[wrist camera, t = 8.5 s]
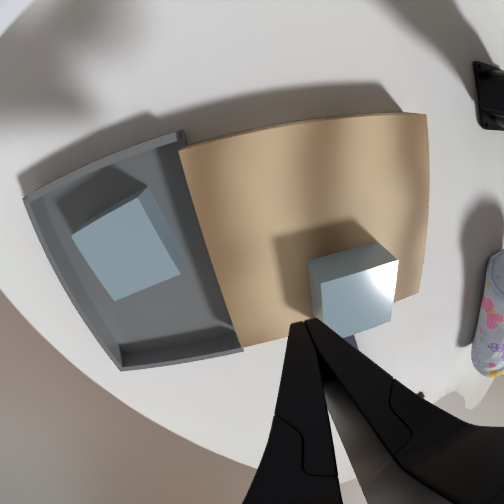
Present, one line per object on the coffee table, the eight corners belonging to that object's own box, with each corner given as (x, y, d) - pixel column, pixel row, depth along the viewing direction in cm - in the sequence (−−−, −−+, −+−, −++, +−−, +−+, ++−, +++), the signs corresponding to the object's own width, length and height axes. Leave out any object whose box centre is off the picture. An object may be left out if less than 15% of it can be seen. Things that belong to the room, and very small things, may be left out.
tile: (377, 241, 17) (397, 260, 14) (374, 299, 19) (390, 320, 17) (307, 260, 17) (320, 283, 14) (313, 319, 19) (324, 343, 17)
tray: (182, 129, 14) (178, 131, 13) (243, 333, 22) (246, 350, 20) (37, 189, 14) (22, 198, 12) (124, 355, 22) (120, 371, 20)
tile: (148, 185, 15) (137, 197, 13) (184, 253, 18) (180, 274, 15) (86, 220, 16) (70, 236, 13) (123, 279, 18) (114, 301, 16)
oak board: (403, 112, 15) (426, 114, 13) (403, 276, 22) (418, 292, 20) (183, 146, 15) (178, 151, 13) (238, 325, 22) (241, 347, 19)
